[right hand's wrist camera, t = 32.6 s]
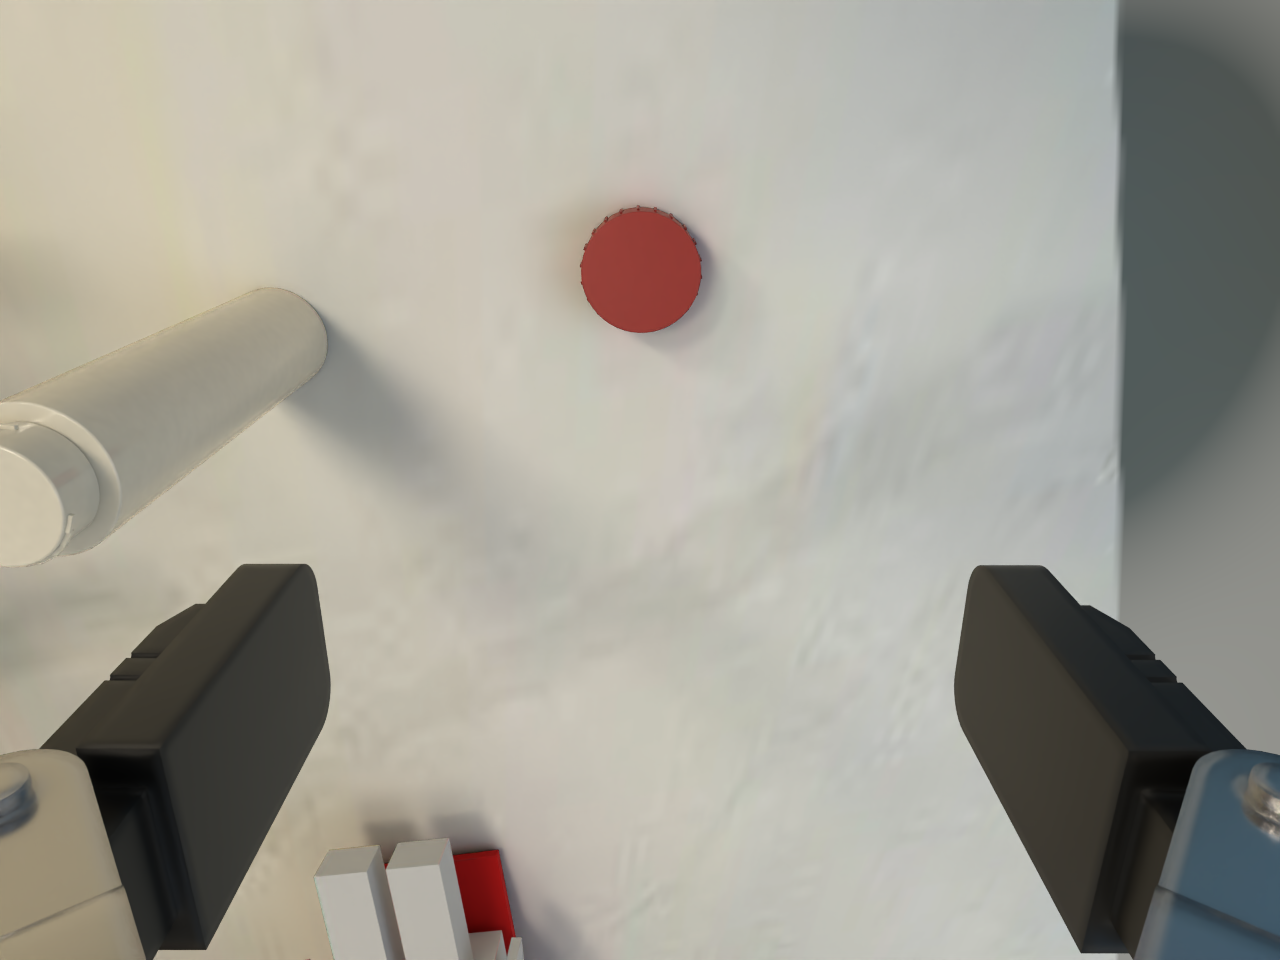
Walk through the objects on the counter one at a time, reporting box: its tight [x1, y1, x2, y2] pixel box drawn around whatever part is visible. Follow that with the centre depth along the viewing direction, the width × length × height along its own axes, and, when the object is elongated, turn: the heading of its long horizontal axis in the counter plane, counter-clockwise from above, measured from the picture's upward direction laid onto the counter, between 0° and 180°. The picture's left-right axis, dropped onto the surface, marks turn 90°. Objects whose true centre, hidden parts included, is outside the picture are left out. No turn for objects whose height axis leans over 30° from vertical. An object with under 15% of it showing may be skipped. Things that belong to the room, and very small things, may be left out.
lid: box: [580, 205, 702, 333], centre depth 38 cm, size 5×5×2 cm
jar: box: [0, 288, 328, 567], centre depth 32 cm, size 4×4×19 cm
